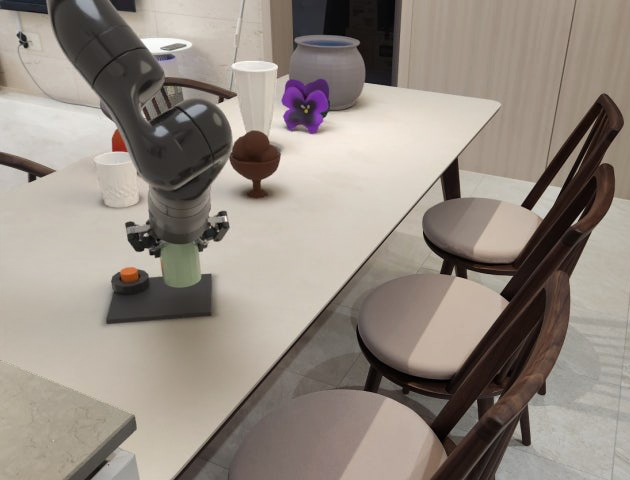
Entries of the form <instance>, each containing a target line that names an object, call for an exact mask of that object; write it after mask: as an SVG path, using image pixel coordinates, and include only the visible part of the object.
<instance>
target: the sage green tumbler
mask: <svg viewBox="0 0 630 480" xmlns="http://www.w3.org/2000/svg"><path fill="white" fill-rule="evenodd" d="M159 251H160V258H159V261H160V269H161V277H163V281H164V283H165V284H166V285H168V286H171V287H178V288H181V287H188V286H192V285H194V284H196V283H198V282H199V281H200V280H201V274H202V267H201V258H200V256H201V255H200V252H199V248H198V244H195V243H194V242H191V243H188V244H172V243H170V244H169V245H168V246H166V247H165V248H159Z"/></svg>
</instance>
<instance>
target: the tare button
mask: <svg viewBox="0 0 630 480" xmlns="http://www.w3.org/2000/svg"><path fill="white" fill-rule="evenodd" d="M137 269H138V268H136V267H135V266H127V267H124V268H122V269H120V271H119V272H120V275H121V280H122V282H126V283H127V282H133V281H137V280H138V279H139V276H138V270H137Z"/></svg>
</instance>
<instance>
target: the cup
mask: <svg viewBox="0 0 630 480" xmlns="http://www.w3.org/2000/svg"><path fill="white" fill-rule="evenodd" d="M230 69H231V70H232V73H233V74H232V75H233V81H234V85H235V92H236V96H237V101H238V106H239V110H240V115H241V118H242V122H243V126H244V130H245V134H246V133H248V132H250V131H252V130H255V131H260V132H262V133H264V134H265V135H267V137H268V138H269V137H270V132H271V128H272V122H273V117H274V109H275V102H276V93H277V92H276V91H277V81H278V80H277V79H278V69H279V66H278V64H276V63H274V62H270V61H264V60H243V61H237V62H233V63H232V64H231V66H230ZM270 145H273V146H274V147H275V148H276V149H277V151H278V152H280V153H281V148H280V147H279V146H277V145H275V144H271V143H270Z"/></svg>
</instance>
